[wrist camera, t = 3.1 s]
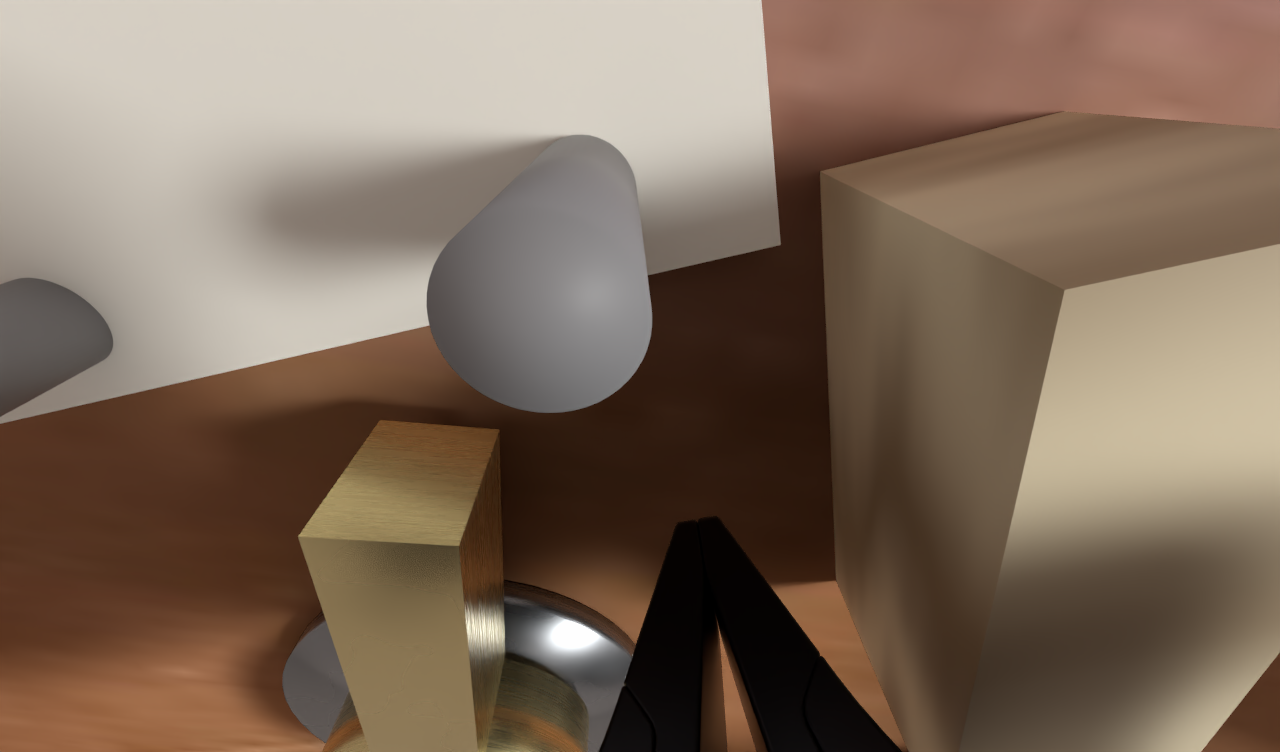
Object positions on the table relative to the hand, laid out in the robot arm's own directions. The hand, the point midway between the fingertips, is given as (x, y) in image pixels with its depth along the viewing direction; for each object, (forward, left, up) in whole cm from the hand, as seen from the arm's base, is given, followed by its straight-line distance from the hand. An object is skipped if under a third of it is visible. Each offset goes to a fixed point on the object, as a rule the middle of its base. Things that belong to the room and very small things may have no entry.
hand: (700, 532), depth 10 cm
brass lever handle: (-3, +6, 0) cm, 7 cm away
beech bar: (+1, -5, -1) cm, 5 cm away
